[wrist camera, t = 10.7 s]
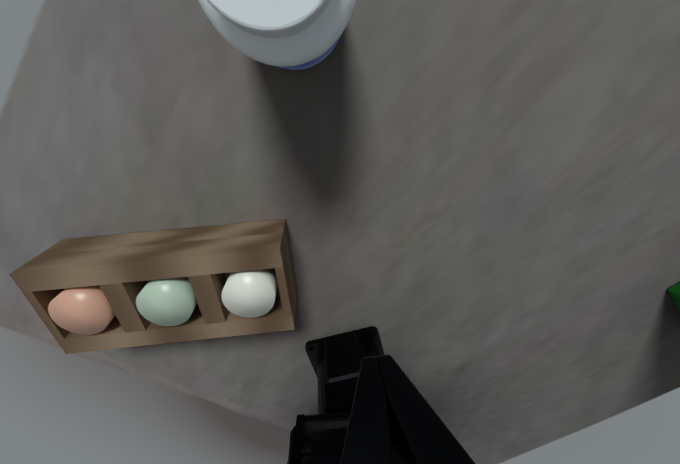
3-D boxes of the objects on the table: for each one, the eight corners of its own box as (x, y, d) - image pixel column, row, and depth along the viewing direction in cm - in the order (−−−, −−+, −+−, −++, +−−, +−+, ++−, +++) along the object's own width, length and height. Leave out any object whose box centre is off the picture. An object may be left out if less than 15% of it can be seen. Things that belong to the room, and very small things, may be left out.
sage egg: (196, 262, 19) (182, 283, 18) (209, 300, 21) (198, 323, 19) (146, 267, 19) (127, 288, 17) (162, 305, 21) (147, 328, 19)
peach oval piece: (116, 270, 19) (93, 291, 17) (135, 308, 21) (116, 332, 19) (65, 274, 19) (37, 297, 17) (87, 312, 21) (64, 337, 19)
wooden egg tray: (285, 219, 21) (279, 248, 17) (297, 291, 24) (294, 329, 20) (63, 239, 20) (9, 274, 17) (104, 311, 23) (66, 353, 20)
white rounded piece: (274, 255, 20) (270, 274, 18) (281, 293, 21) (278, 315, 19) (225, 259, 20) (215, 280, 18) (236, 297, 21) (228, 320, 19)
